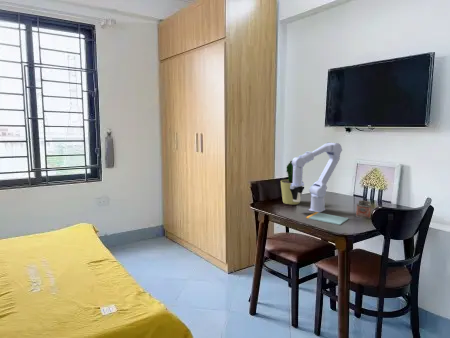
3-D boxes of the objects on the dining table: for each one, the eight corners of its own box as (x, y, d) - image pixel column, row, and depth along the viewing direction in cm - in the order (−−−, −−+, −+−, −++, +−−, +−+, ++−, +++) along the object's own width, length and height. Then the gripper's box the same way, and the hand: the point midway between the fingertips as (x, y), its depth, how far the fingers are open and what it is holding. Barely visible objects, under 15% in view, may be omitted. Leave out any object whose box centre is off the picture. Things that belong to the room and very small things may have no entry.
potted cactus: (287, 198, 236) (288, 157, 231) (306, 202, 226) (308, 159, 221) (275, 202, 224) (276, 159, 220) (295, 206, 214) (297, 161, 210)
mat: (316, 213, 199) (316, 212, 199) (348, 219, 187) (348, 218, 187) (306, 218, 188) (306, 217, 188) (339, 225, 176) (339, 223, 176)
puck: (294, 199, 203) (295, 192, 202) (301, 201, 200) (301, 193, 200) (291, 201, 200) (291, 193, 199) (298, 202, 197) (298, 194, 196)
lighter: (354, 216, 193) (356, 200, 191) (357, 215, 195) (358, 199, 194) (369, 219, 187) (370, 202, 186) (371, 218, 190) (372, 201, 189)
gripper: (297, 174, 206) (296, 195, 208) (285, 177, 195) (285, 199, 197) (307, 176, 201) (306, 197, 203) (296, 179, 190) (295, 201, 192)
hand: (296, 198), depth 200 cm, fingers closed on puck, 4 cm apart
